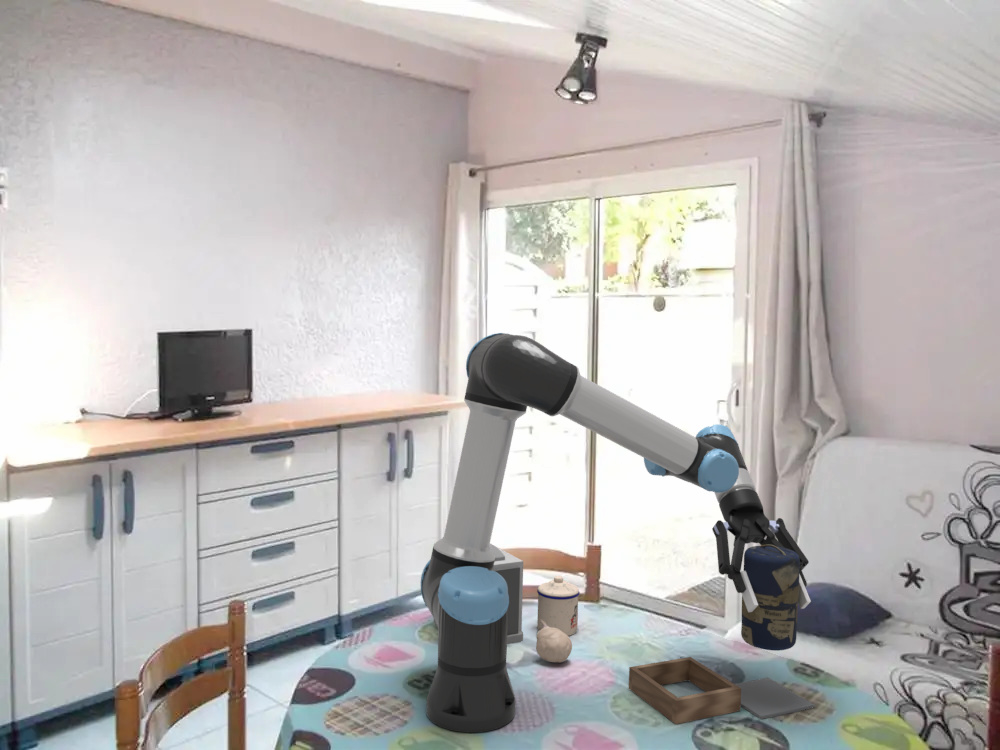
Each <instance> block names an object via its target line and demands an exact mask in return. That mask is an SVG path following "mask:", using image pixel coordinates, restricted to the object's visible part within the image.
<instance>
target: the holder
mask: <svg viewBox="0 0 1000 750" xmlns="http://www.w3.org/2000/svg"><path fill="white" fill-rule="evenodd" d="M685 681H687V682H688V681H689V682H690V683H692V684H693V685H695V686H696V687H697V688H700V689H701V690H702V691H704V692H699V693H693V694H689V695H684V696H683V695H682V696H679V697H678V696H676V695H675V693H672V692H671V691H669V690H668V689H667V688H666V687H664V685H671V684H676V683H682V682H685ZM735 684H736V683H733V682H732V681H731V680H728V679H727V678H725V677H724V676H722V675H721V674H719V673H717V672H716V671H714V670H712V669H711V668H709V667H708V666H706V665H705V664H703V663H701V662H700V661H698V660H696V659H695V658H693V657H691V656H688V657H687V656H686V657H683V658H681V657H680V658H676V659H669V660H663V661H657V662H651V663H646V664H639V665H634V666H629V667H628V690H630V691H631V692H632V693H634V694H635V695H636V696H638V697H639V698H640V699H642V700H643V701H645V702H646V703H647V704H648V705H650V706H651V707H652V708H654V709H655V710H656V711H658V712H659V713H660V714H662V715H663V716H664V717H665V718H666V719H668V720H669V721H671V722H672V723H673V724H675V725H678V724H684V723H688V722H693V721H698V720H702V719H703V720H704V719H707V718H712V717H717V716H722V715H727V714H731V713H736V712H737V713H738V712H740V711H741V688H740V687H738V686H737V685H735Z"/></svg>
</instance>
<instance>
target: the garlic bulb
mask: <svg viewBox="0 0 1000 750" xmlns="http://www.w3.org/2000/svg"><path fill="white" fill-rule="evenodd" d="M540 622H541V623H542V624H543V629H541V630H538V632H537V634H536V636H535V637H536V646H535V650H536V651H535V652H536V653H537V655H538V656H539V657H540V658H541V660H544V661H546V662H551V663H559V664H560V663H564V662H565V661H567V660H568V659H569V657H570V655H571V654H572V651H573V650H572V649H573V644H572V640H571V638H570V637H569V636H567V635H566V634H565V633H563V632H562V631H561V630H559V629H557V628H552V627H548V626H547V625H546V623H545V622H544V621H543V620H541V621H540Z"/></svg>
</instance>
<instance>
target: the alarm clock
mask: <svg viewBox="0 0 1000 750" xmlns="http://www.w3.org/2000/svg"><path fill="white" fill-rule="evenodd" d="M489 547H490V549H491V551H492V553H493V554H494V556H495V561H494V566H493V571H495V572H497V573H498V574H500V575H501V576H502V577H503V578H504V579H505V581H506V583H507V587H508V595H509V605H508V621H507V645H512V644H517V643H522V642H524V631H523V630H522V629H523V626H522V625H523V622H522V621H523V595H524V594H523V593H524V592H523V590H524V589H523V587H524V585H523V584H524V560H523V559H520V558H518V557H516V556H514V555H513V554H511V553H509V552H508V551H505V550H504V549H501V548H500V547H498V546H497V545H494V544H492V543H490V545H489ZM434 623H435V624H434ZM433 624H434V625H436V627H438V625H437V623H436V621H435V620H434V619H433ZM521 641H522V642H521Z"/></svg>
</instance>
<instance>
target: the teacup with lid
mask: <svg viewBox="0 0 1000 750" xmlns="http://www.w3.org/2000/svg"><path fill="white" fill-rule="evenodd" d="M536 592H537V595H538V596H537V627H536V628H537V630H538V631H539V630H541V629H543V624H542V623H541V622H540V621H541V620H543V621H544V622H545V623H546V625H547V626H548V627H552V628H557V629H559V630H561V631H562V632H563V633H565V634H566V635H567V636H568V637H569V636H572V635H574V634H576V633H577V631H578V618H579V615H578V614H579V595H580V593H581V592H580V589H579V588H578V586H576V585H575V584H572V583H569V582H568V581H567V580H564V577H563V576H561V575H555V576H554V577H553V579H552V580H550V581H548V582H544V583H541V584H540V585H538V587H537V590H536Z"/></svg>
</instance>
